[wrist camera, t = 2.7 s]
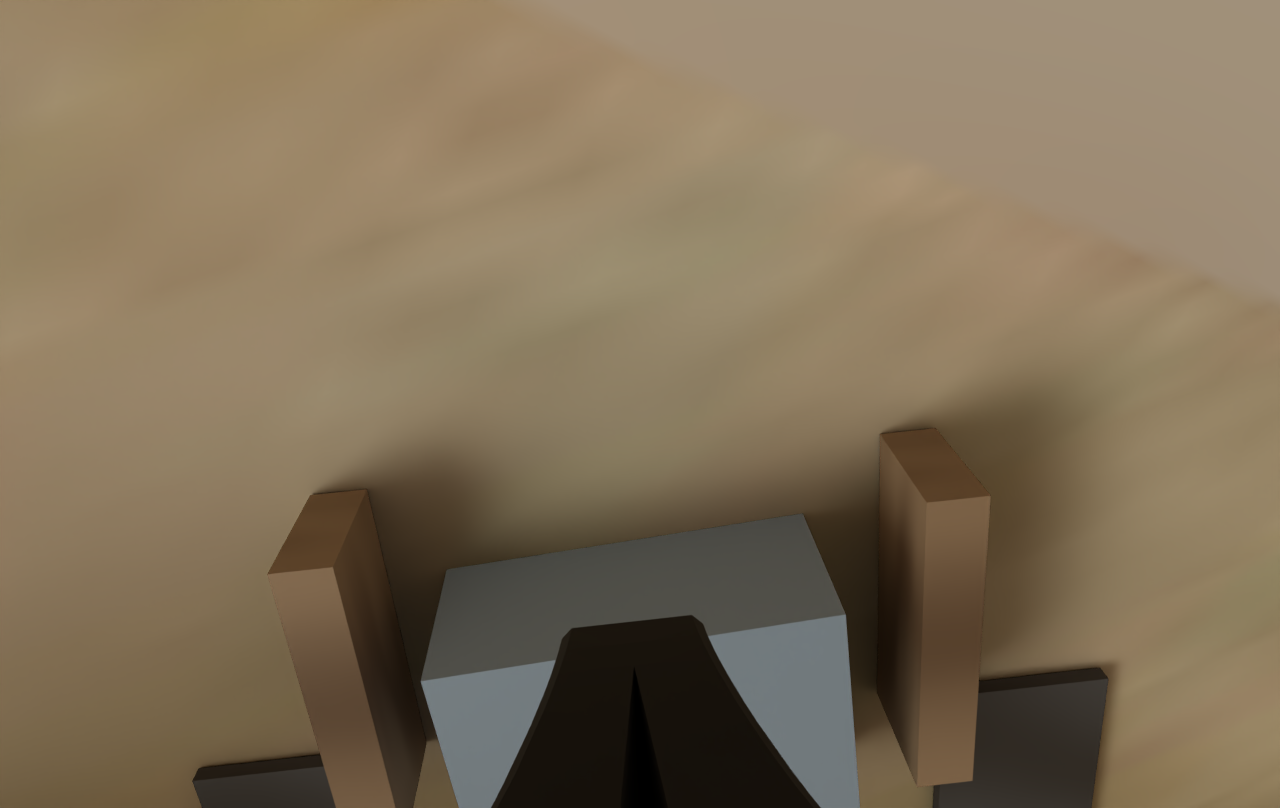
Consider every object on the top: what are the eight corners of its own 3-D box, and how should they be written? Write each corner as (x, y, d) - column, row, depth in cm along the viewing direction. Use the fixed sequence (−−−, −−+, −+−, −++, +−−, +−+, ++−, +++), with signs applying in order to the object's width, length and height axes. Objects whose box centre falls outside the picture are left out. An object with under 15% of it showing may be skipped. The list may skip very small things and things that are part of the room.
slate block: (821, 745, 24) (865, 880, 20) (510, 794, 24) (498, 937, 20) (800, 507, 21) (845, 614, 18) (448, 563, 21) (420, 681, 18)
